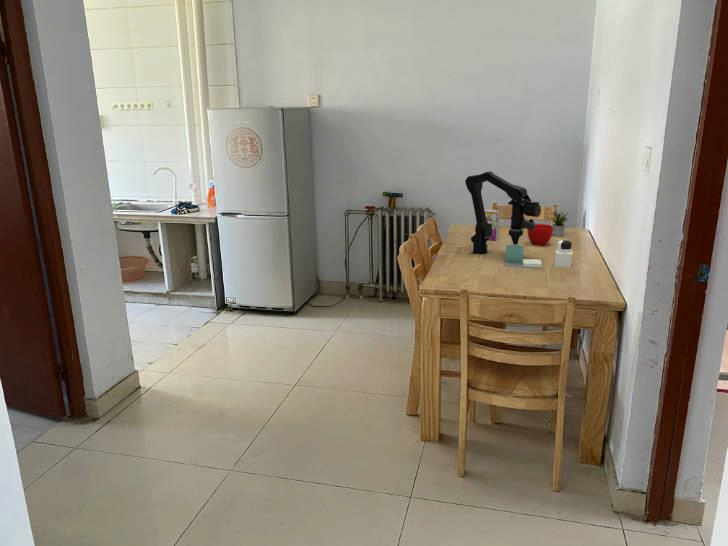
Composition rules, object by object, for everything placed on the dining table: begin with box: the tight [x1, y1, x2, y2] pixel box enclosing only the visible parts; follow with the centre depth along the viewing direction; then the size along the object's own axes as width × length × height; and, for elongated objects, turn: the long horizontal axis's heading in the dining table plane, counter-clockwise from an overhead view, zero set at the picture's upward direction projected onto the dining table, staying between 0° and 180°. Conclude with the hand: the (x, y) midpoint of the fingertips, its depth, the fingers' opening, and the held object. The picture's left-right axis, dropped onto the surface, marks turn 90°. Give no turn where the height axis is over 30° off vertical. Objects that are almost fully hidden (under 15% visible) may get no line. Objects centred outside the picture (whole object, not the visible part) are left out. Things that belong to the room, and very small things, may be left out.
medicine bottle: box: [554, 239, 573, 269], centre depth 263 cm, size 7×7×12 cm
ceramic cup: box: [527, 223, 553, 247], centre depth 306 cm, size 13×17×10 cm
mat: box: [503, 260, 541, 270], centre depth 268 cm, size 16×16×1 cm
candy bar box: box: [484, 208, 501, 242], centre depth 318 cm, size 11×5×16 cm, turn 58°
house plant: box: [547, 207, 571, 238], centre depth 325 cm, size 14×14×16 cm
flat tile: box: [523, 258, 543, 269], centre depth 263 cm, size 8×8×2 cm
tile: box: [504, 243, 525, 262], centre depth 271 cm, size 8×2×8 cm, turn 71°
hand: (515, 246), depth 274 cm, fingers closed
